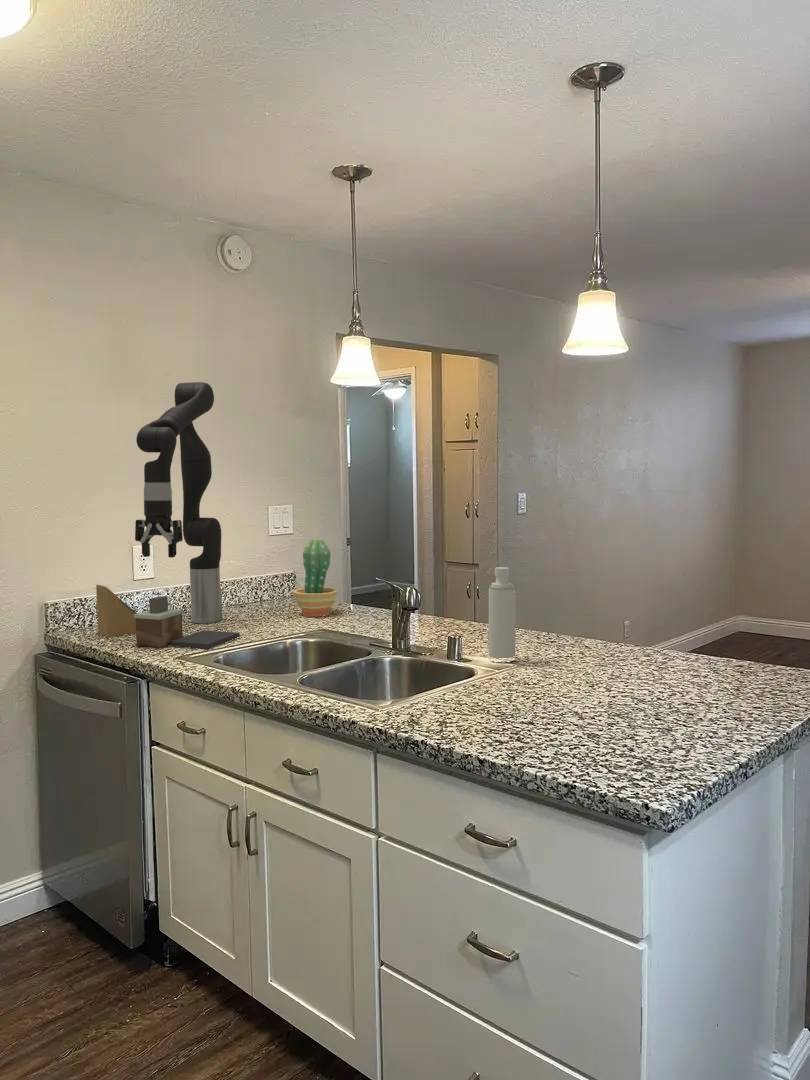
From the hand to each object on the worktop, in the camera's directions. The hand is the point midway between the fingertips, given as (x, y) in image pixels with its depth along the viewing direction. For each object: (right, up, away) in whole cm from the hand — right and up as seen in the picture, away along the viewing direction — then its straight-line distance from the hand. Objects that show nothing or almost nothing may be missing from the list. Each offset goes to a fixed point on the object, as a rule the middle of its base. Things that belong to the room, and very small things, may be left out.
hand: (159, 557), depth 229 cm
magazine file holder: (-14, -23, +17) cm, 32 cm away
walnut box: (0, -24, 0) cm, 24 cm away
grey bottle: (+93, -26, -23) cm, 100 cm away
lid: (0, -16, -1) cm, 16 cm away
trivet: (+13, -24, +1) cm, 27 cm away
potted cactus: (+39, -20, +44) cm, 62 cm away
